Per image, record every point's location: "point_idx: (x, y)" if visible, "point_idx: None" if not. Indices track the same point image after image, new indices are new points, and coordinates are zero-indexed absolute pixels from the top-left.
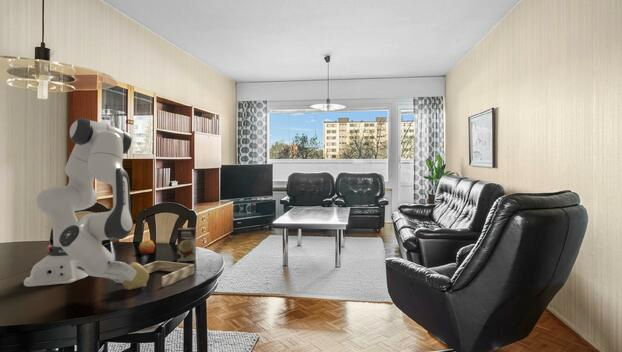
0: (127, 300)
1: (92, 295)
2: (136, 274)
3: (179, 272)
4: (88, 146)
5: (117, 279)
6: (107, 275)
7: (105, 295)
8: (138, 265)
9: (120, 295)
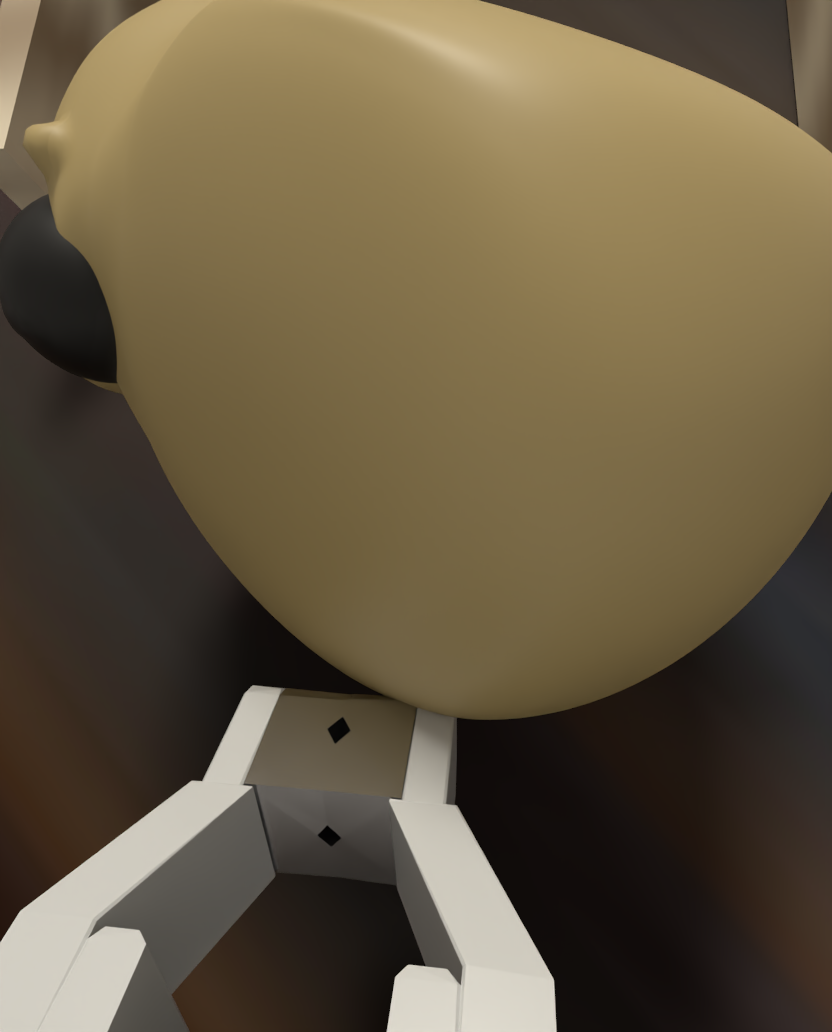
0: (799, 1008)
1: (8, 917)
2: (783, 552)
3: None
4: None
5: (323, 852)
6: None
7: None
8: (786, 217)
9: (462, 792)
